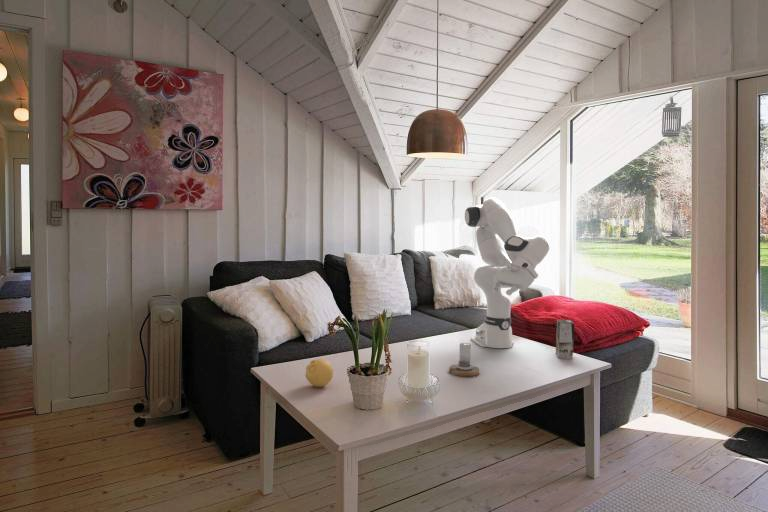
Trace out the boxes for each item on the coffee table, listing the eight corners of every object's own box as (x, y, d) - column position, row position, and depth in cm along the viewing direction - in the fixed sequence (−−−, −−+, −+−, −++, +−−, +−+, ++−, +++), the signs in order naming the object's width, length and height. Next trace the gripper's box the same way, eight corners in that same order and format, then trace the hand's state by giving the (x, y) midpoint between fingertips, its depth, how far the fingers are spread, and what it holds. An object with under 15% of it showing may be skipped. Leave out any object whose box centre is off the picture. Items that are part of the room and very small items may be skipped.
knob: (453, 367, 206) (454, 342, 205) (467, 365, 208) (468, 341, 207) (461, 371, 200) (462, 346, 199) (475, 370, 202) (476, 345, 201)
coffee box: (573, 359, 226) (575, 323, 224) (557, 358, 227) (559, 322, 225) (569, 353, 234) (571, 319, 233) (555, 352, 236) (556, 318, 234)
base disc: (443, 369, 207) (443, 365, 207) (469, 366, 212) (469, 363, 212) (459, 378, 196) (459, 374, 196) (485, 375, 201) (485, 371, 200)
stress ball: (334, 386, 187) (321, 364, 192) (341, 371, 181) (327, 349, 186) (310, 395, 182) (298, 373, 186) (317, 381, 175) (303, 358, 180)
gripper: (502, 260, 221) (482, 283, 218) (532, 265, 202) (511, 290, 199) (510, 270, 223) (490, 293, 220) (541, 276, 204) (520, 301, 201)
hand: (500, 292), depth 210 cm, fingers open, 8 cm apart
